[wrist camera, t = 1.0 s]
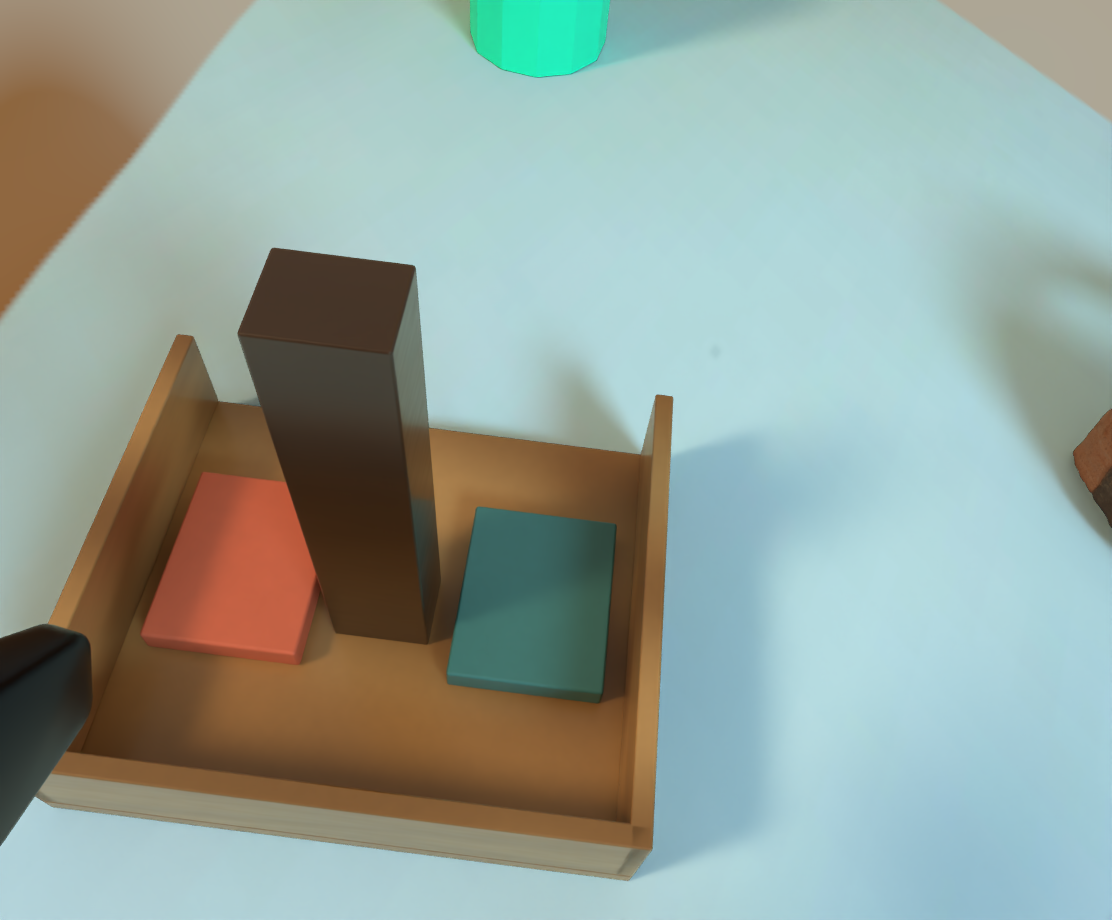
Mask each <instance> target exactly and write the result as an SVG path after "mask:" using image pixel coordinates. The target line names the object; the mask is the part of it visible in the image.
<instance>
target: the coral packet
mask: <svg viewBox="0 0 1112 920" xmlns="http://www.w3.org/2000/svg"><path fill="white" fill-rule="evenodd" d="M320 591H321V588H320V585H319V582H318V579H317V576H316V573H315V569H314V566H313V563H312V560H311V557H310V554H309V551H308V548H307V545H306V542H305V539H304V536H303V533H302V530H301V527H300V524H299V521H298V518H297V515H296V511H295V508H294V505H293V502H292V499H291V496H290V493H289V490H288V487H287V484H286V482H282V481H274V480H266V479H258V478H250V477H242V476H234V475H226V474H218V473H210V472H202V473H201V476H200V478H199V481H198V483H197V486H196V489H195V491H194V494H193V496H192V499H191V502H190V504H189V507H188V509H187V512H186V515H185V517H184V520H183V522H182V525H181V528H180V530H179V533H178V535H177V538H176V541H175V543H174V546H173V548H172V551H171V554H170V556H169V559H168V561H167V564H166V567H165V569H164V572H163V574H162V577H161V580H160V582H159V585H158V588H157V590H156V593H155V595H154V598H153V601H152V603H151V606H150V608H149V611H148V614H147V616H146V619H145V621H144V624H143V627H142V629H141V632H140V636H141V637H142V638H143V640H144V641H145V642H146V644H147V645H148V646H151V647H159V648H167V649H175V650H183V651H190V652H198V653H206V654H214V655H222V656H230V657H238V658H245V659H253V660H261V661H269V662H277V663H285V664H293V665H299V664H300V662H301V660H302V656H303V652H304V649H305V645H306V642H307V638H308V634H309V631H310V627H311V623H312V620H313V616H314V612H315V609H316V605H317V602H318V598H319V594H320Z"/></svg>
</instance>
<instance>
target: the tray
mask: <svg viewBox="0 0 1112 920" xmlns="http://www.w3.org/2000/svg"><path fill="white" fill-rule="evenodd" d="M238 337H239V341H240V344H241V347H242V350H243V353H244V356H245V359H246V362H247V365H248V368H249V371H250V374H251V377H252V380H253V383H254V386H255V389H256V392H257V395H258V399H259V402H260V405H261V407H259V406H251V405H243V404H236V403H228V402H220V401H218V398H217V395H216V393H215V390H214V388H213V385H212V382H211V380H210V377H209V375H208V372H207V370H206V367H205V364H204V362H203V359H202V357H201V354H200V351H199V349H198V346H197V344H196V341H195V339H194V337H193V336H188V335H180V334H178V335H177V336H176V338H175V340H174V342H173V345H172V347H171V349H170V351H169V354H168V356H167V358H166V360H165V363H164V365H163V367H162V369H161V372H160V374H159V376H158V378H157V381H156V383H155V385H154V387H153V389H152V392H151V394H150V396H149V398H148V401H147V403H146V405H145V407H144V410H143V412H142V414H141V416H140V419H139V421H138V423H137V425H136V428H135V430H134V432H133V434H132V436H131V439H130V441H129V443H128V445H127V448H126V450H125V452H124V454H123V457H122V459H121V461H120V463H119V466H118V468H117V470H116V472H115V475H114V477H113V479H112V481H111V484H110V486H109V488H108V490H107V492H106V495H105V497H104V499H103V501H102V504H101V506H100V508H99V510H98V513H97V515H96V517H95V519H94V522H93V524H92V526H91V528H90V531H89V533H88V535H87V537H86V539H85V542H84V544H83V546H82V548H81V551H80V553H79V555H78V557H77V560H76V562H75V564H74V566H73V569H72V571H71V573H70V575H69V578H68V580H67V582H66V584H65V587H64V589H63V591H62V593H61V595H60V598H59V600H58V602H57V604H56V607H55V609H54V611H53V613H52V616H51V618H50V620H49V622H48V624H53V625H56V626H60V627H63V628H66V629H69V630H73V631H76V632H79V633H82V634H83V635H85V636H86V637H87V638H88V640H89V642H90V645H91V660H92V685H93V702H92V707H91V711H90V714H89V716H88V718H87V720H86V722H85V724H84V725H83V727H82V729H81V730H80V732H79V733H78V734H77V736H76V737H75V739H74V740H73V742H72V743H71V745H70V746H69V748H68V749H67V750H66V752H65V753H64V755H63V756H62V758H61V759H60V761H59V762H58V764H57V765H56V766H55V768H54V769H53V771H52V772H51V774H50V775H49V777H48V778H47V779H46V781H45V782H44V784H43V785H42V787H41V788H40V790H39V791H38V793H37V794H36V795H35V797H37V798H38V799H40V800H42V801H43V802H45V803H47V804H48V805H50V806H51V807H56V808H64V809H72V810H80V811H87V812H95V813H103V814H111V815H119V816H126V817H134V818H142V819H150V820H158V821H165V822H173V823H181V824H189V825H197V826H204V827H212V828H220V829H228V830H235V831H243V832H251V833H259V834H267V835H274V836H282V837H290V838H298V839H306V840H313V841H321V842H329V843H337V844H345V845H352V846H360V847H368V848H376V849H384V850H391V851H399V852H407V853H415V854H423V855H430V856H438V857H446V858H454V859H462V860H469V861H477V862H485V863H493V864H500V865H508V866H516V867H524V868H532V869H539V870H547V871H555V872H563V873H571V874H578V875H586V876H594V877H602V878H610V879H617V880H625V881H628V880H630V879H631V877H632V876H633V875H634V874H635V872H636V871H637V870H638V868H639V867H640V866H641V864H642V863H643V861H644V860H645V859H646V857H647V856H648V855H649V853H650V852H651V851H652V849H653V827H654V806H655V784H656V762H657V740H658V719H659V697H660V675H661V653H662V632H663V610H664V588H665V566H666V545H667V523H668V501H669V479H670V458H671V436H672V414H673V397H672V396H665V395H656V396H655V400H654V404H653V408H652V412H651V416H650V420H649V424H648V428H647V432H646V435H645V439H644V443H643V447H642V451H641V455H640V454H632V453H624V452H616V451H608V450H600V449H592V448H584V447H576V446H568V445H561V444H553V443H545V442H537V441H529V440H521V439H513V438H505V437H497V436H489V435H481V434H473V433H465V432H457V431H450V430H442V429H434V428H429V424H428V411H427V399H426V387H425V374H424V362H423V350H422V338H421V325H420V313H419V301H418V288H417V276H416V268H415V266H413V265H408V264H400V263H392V262H384V261H376V260H368V259H360V258H352V257H344V256H336V255H328V254H320V253H312V252H304V251H296V250H288V249H280V248H272V249H271V250H270V253H269V255H268V258H267V260H266V263H265V265H264V268H263V270H262V273H261V275H260V278H259V280H258V283H257V285H256V288H255V290H254V293H253V295H252V298H251V300H250V303H249V305H248V308H247V310H246V313H245V316H244V318H243V321H242V323H241V326H240V328H239V331H238ZM202 472H210V473H218V474H226V475H234V476H242V477H250V478H258V479H266V480H274V481H282V482H286V484H287V487H288V490H289V493H290V496H291V499H292V502H293V505H294V508H295V511H296V515H297V518H298V521H299V524H300V527H301V530H302V533H303V536H304V539H305V542H306V545H307V548H308V551H309V554H310V557H311V560H312V563H313V566H314V569H315V573H316V576H317V579H318V582H319V585H320V588H321V591H320V594H319V598H318V602H317V605H316V609H315V612H314V616H313V620H312V623H311V627H310V631H309V634H308V638H307V642H306V645H305V649H304V652H303V656H302V660H301V662H300V664H299V665H293V664H285V663H277V662H269V661H261V660H253V659H245V658H238V657H230V656H222V655H214V654H206V653H198V652H190V651H183V650H175V649H167V648H159V647H151V646H148V645H147V644H146V642H145V641H144V640H143V638H142V637H141V636H140V632H141V629H142V627H143V624H144V621H145V619H146V616H147V614H148V611H149V608H150V606H151V603H152V601H153V598H154V595H155V593H156V590H157V588H158V585H159V582H160V580H161V577H162V574H163V572H164V569H165V567H166V564H167V561H168V559H169V556H170V554H171V551H172V548H173V546H174V543H175V541H176V538H177V535H178V533H179V530H180V528H181V525H182V522H183V520H184V517H185V515H186V512H187V509H188V507H189V504H190V502H191V499H192V496H193V494H194V491H195V489H196V486H197V483H198V481H199V478H200V476H201V473H202ZM478 506H480V507H488V508H496V509H504V510H512V511H520V512H528V513H536V514H544V515H551V516H559V517H567V518H575V519H583V520H591V521H599V522H607V523H614V524H616V525H617V532H616V545H615V557H614V569H613V582H612V594H611V606H610V619H609V631H608V644H607V656H606V668H605V681H604V692H603V696H602V699H601V701H600V703H589V702H581V701H574V700H566V699H558V698H550V697H542V696H534V695H527V694H519V693H511V692H503V691H495V690H487V689H479V688H472V687H464V686H456V685H449V684H447V677H446V670H447V664H448V659H449V653H450V648H451V642H452V637H453V631H454V626H455V620H456V615H457V609H458V604H459V598H460V593H461V587H462V582H463V576H464V571H465V565H466V560H467V554H468V549H469V543H470V538H471V532H472V527H473V521H474V516H475V510H476V508H477V507H478Z"/></svg>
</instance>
